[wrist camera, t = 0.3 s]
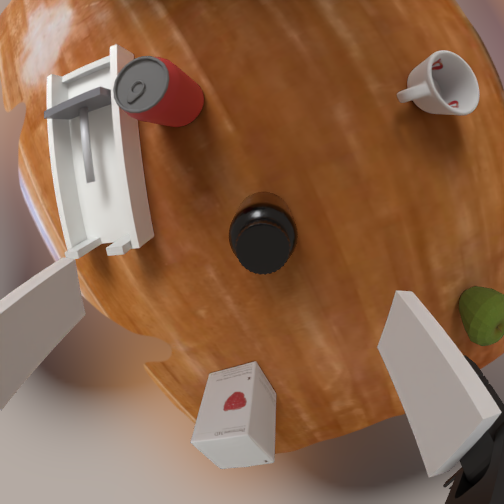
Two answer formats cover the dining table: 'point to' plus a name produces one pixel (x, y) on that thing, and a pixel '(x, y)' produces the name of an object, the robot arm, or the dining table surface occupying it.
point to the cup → (442, 85)
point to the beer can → (157, 92)
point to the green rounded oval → (482, 314)
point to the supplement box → (237, 418)
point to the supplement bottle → (263, 233)
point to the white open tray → (98, 165)
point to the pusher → (82, 119)
